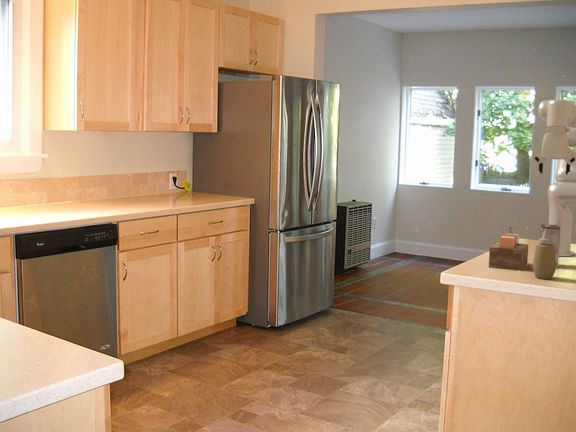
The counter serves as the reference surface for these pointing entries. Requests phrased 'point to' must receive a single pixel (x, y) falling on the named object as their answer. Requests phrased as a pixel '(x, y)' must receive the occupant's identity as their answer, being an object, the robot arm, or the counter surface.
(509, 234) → the steel plug
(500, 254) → the plug console
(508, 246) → the terracotta plug
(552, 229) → the coffee box
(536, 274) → the squeeze bottle
